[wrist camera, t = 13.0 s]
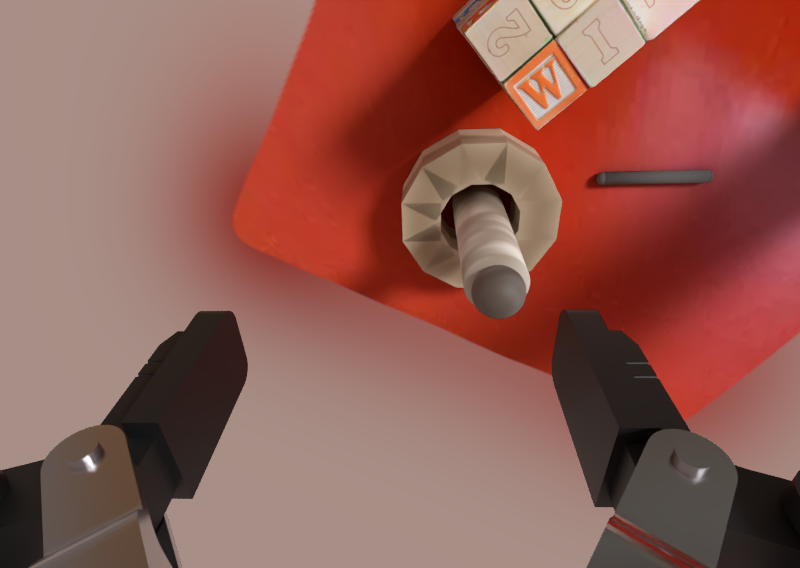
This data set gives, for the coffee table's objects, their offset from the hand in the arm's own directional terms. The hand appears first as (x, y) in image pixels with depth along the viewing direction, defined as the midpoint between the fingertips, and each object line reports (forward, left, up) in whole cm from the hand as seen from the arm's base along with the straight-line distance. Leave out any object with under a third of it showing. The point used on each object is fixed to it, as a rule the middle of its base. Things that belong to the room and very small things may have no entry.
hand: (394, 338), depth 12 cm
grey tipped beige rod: (-5, +8, -28) cm, 30 cm away
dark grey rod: (-19, +6, -28) cm, 34 cm away
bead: (-5, +8, -28) cm, 30 cm away
